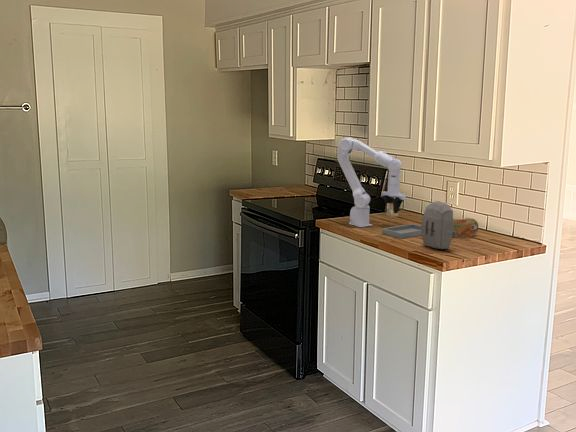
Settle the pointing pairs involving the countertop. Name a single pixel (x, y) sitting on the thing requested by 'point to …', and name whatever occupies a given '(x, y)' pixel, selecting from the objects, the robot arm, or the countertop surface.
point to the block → (391, 210)
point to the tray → (403, 231)
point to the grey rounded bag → (437, 225)
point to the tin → (464, 227)
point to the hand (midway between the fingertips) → (392, 212)
